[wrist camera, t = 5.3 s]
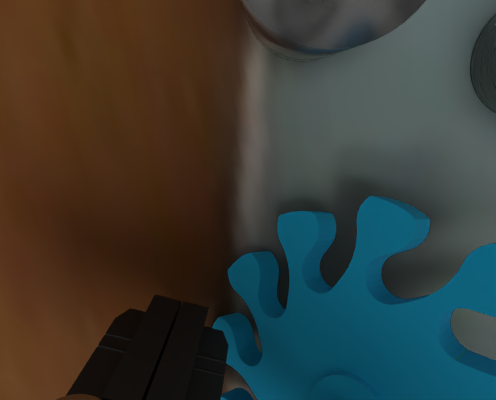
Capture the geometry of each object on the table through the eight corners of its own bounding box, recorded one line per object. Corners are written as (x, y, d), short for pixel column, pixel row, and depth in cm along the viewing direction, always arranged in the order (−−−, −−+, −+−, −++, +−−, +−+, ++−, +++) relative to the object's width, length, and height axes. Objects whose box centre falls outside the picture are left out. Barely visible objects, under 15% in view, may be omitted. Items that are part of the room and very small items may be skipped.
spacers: (619, 10, 9) (978, -56, 5) (345, 559, 16) (378, 765, 11) (261, -88, 9) (254, -265, 4) (130, 511, 16) (71, 701, 11)
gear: (314, 106, 9) (1068, 690, 3) (414, 143, 13) (818, 424, 8) (143, 384, 14) (333, 822, 8) (258, 345, 18) (435, 612, 12)
